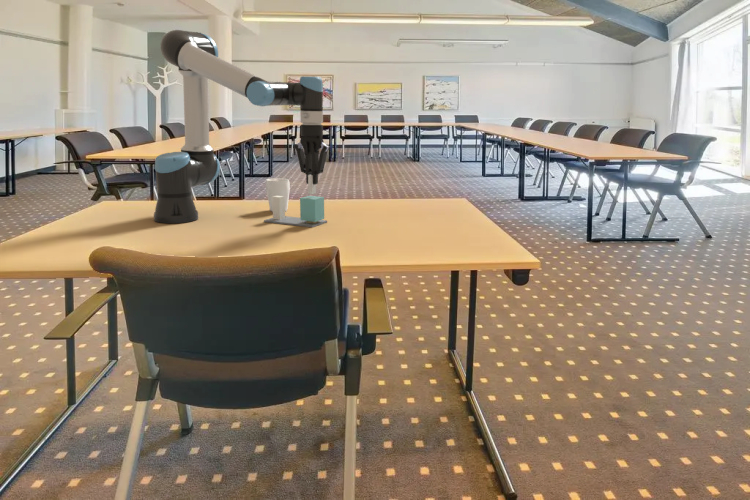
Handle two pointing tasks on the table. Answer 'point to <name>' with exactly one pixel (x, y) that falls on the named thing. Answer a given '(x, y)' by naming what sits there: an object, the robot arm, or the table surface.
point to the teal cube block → (312, 208)
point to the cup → (277, 190)
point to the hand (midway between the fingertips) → (312, 193)
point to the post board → (282, 219)
